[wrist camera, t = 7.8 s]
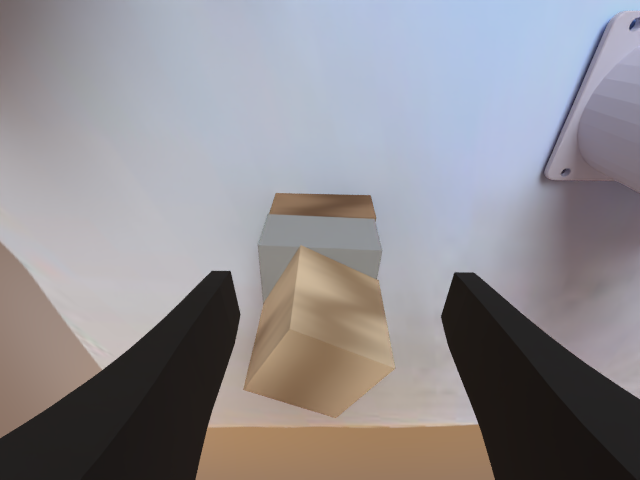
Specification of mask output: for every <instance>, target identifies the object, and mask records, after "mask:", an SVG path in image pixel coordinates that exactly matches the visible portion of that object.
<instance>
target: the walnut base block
mask: <svg viewBox="0 0 640 480" xmlns="http://www.w3.org/2000/svg"><path fill="white" fill-rule="evenodd" d="M269 214H275V215H297V216H320V217H343V218H366V219H375V222H376V215H375V211H374V207H373V203H372V199H371V195H334V194H291V193H276V194H275V197H274V200H273V204H272V207H271V210H270V213H269Z"/></svg>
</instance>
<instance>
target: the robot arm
mask: <svg viewBox="0 0 640 480" xmlns="http://www.w3.org/2000/svg"><path fill="white" fill-rule="evenodd" d="M634 19H635V20H636V22H635V25H634V27H633V28H632V29H631V30H630V29H629V26H630V24H631V22H632V21H633V20H634ZM566 168H567V169H566ZM564 169H566V171H565V172H564V173H562V174H561V172H562V171H563V170H564ZM544 175H545V176H546V177H547V178H548V179H550V180H581V181H617V182H619V183H621V184H623V185H625V186H627V187H629V188H630V189H632V190H634V191H636V192H638V193H640V11H622V12H619V13H617V14H616V15H614V16H613V17H612V18H611V20H610V21H609V23H608V25H607V27H606V29H605V32H604V34H603V36H602V39H601V41H600V43H599V45H598V48H597V50H596V52H595V55H594V57H593V59H592V62H591V64H590V66H589V69H588V71H587V73H586V76H585V78H584V80H583V83H582V85H581V87H580V90H579V92H578V94H577V97H576V99H575V101H574V103H573V106H572V108H571V110H570V113H569V115H568V117H567V120H566V122H565V124H564V127H563V129H562V131H561V134H560V136H559V138H558V141H557V143H556V145H555V148H554V150H553V152H552V154H551V157H550V159H549V161H548V164H547V166H546V168H545V171H544ZM441 318H442V323H443V327H444V331H445V335H446V339H447V343H448V346H449V349H450V352H451V354H452V357H453V359H454V362H455V365H456V367H457V370H458V372H459V375H460V377H461V380H462V382H463V385H464V387H465V390H466V392H467V395H468V397H469V400H470V403H471V405H472V408H473V410H474V413H475V415H476V418H477V421H478V424H479V426H480V429H481V432H482V435H483V439H484V442H485V446H486V449H487V453H488V456H489V460H490V463H491V467H492V470H493V474H494V477H495V480H640V399H638V398H637V397H635V396H634V395H632V394H631V393H629V392H627V391H626V390H624V389H623V388H621V387H620V386H618V385H617V384H615V383H614V382H612V381H611V380H609V379H608V378H606V377H605V376H603V375H602V374H601V373H599V372H598V371H596V370H595V369H593V368H592V367H590V366H589V365H587V364H586V363H585V362H583V361H582V360H580V359H579V358H578V357H576V356H575V355H574V354H572V353H571V352H570V351H568V350H567V349H566V348H564V347H563V346H562V345H560V344H559V343H558V342H556V341H555V340H554V339H553V338H551V337H550V336H549V335H547V334H546V333H545V332H544V331H542V330H541V329H540V328H539V327H537V326H536V325H535V324H534V323H533V322H531V321H530V320H529V319H528V318H526V317H525V316H524V315H523V314H522V313H521V312H519V311H518V310H517V309H516V308H515V307H513V306H512V305H511V304H510V303H509V302H508V301H507V300H505V299H504V298H503V297H502V296H501V295H500V294H498V293H497V292H496V291H495V290H494V289H493V288H492V287H490V286H489V285H488V284H487V283H486V282H485V281H483V280H482V279H481V278H480V277H479V276H477V275H476V274H475V273H457V272H454V276H453V279H452V282H451V286H450V289H449V292H448V295H447V299H446V302H445V305H444V309H443V312H442V315H441ZM239 319H240V311H239V306H238V302H237V297H236V293H235V289H234V284H233V280H232V275H231V271H211V272H210V273H209V274H208V275H207V276H206V277H205V278H204V279H203V280H202V281H201V282H200V283H199V284H198V285H197V286H196V287H195V288H194V289H193V290H192V291H191V292H190V293H189V294H188V295H187V296H186V297H185V298H184V299H183V300H182V301H181V302H180V303H179V304H178V305H177V306H176V307H175V308H174V309H173V310H172V311H171V312H170V313H169V314H168V315H167V316H166V317H165V318H164V319H163V320H162V321H160V322H159V323H158V324H157V325H156V326H155V327H154V328H153V329H152V330H150V331H149V332H148V333H147V334H146V335H145V336H144V337H143V338H141V339H140V340H139V341H138V342H137V343H136V344H135V345H133V346H132V347H131V348H130V349H129V350H127V351H126V352H125V353H124V354H122V355H121V356H120V357H119V358H118V359H116V360H115V361H114V362H112V363H111V364H110V365H108V366H107V367H106V368H105V369H103V370H102V371H101V372H99V373H98V374H97V375H95V376H94V377H93V378H91V379H90V380H88V381H87V382H86V383H84V384H83V385H81V386H80V387H78V388H77V389H75V390H74V391H73V392H71V393H70V394H68V395H67V396H65V397H64V398H62V399H61V400H60V401H58V402H57V403H55V404H54V405H52V406H51V407H49V408H48V409H46V410H45V411H43V412H42V413H40V414H39V415H37V416H35V417H34V418H32V419H31V420H29V421H28V422H26V423H24V424H23V425H21V426H20V427H18V428H16V429H15V430H13V431H12V432H10V433H9V434H7V435H5V436H3V437H2V438H0V480H195V478H196V474H197V470H198V465H199V460H200V456H201V452H202V447H203V443H204V439H205V435H206V431H207V427H208V423H209V420H210V416H211V413H212V410H213V407H214V404H215V401H216V398H217V395H218V392H219V389H220V386H221V383H222V380H223V377H224V374H225V371H226V368H227V365H228V362H229V359H230V356H231V353H232V350H233V347H234V344H235V339H236V335H237V330H238V325H239Z"/></svg>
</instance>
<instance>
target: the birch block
mask: <svg viewBox="0 0 640 480" xmlns="http://www.w3.org/2000/svg"><path fill="white" fill-rule="evenodd" d="M394 369H395V364H394V359H393V353H392V348H391V343H390V338H389V332H388V327H387V322H386V317H385V311H384V306H383V301H382V296H381V290H380V285H379V280H377V279H374V278H372V277H370V276H368V275H366V274H363V273H361V272H359V271H357V270H355V269H352V268H350V267H348V266H346V265H344V264H341V263H339V262H337V261H335V260H333V259H330V258H328V257H326V256H324V255H322V254H319V253H317V252H315V251H313V250H311V249H309V248H306V247H304V246H302V245H300V247H299V249H298V250H297V252H296V253H295V255H294V256H293V258H292V259H291V261H290V263H289V264H288V266H287V267H286V269H285V270H284V272H283V274H282V275H281V277H280V278H279V280H278V281H277V283H276V284H275V286H274V288H273V289H272V291H271V292H270V294H269V295H268V297H267V298H266V300H265V302H264V304H263V309H262V313H261V317H260V321H259V326H258V330H257V334H256V338H255V342H254V347H253V351H252V355H251V359H250V364H249V368H248V372H247V376H246V381H245V385H244V389H243V390H246V391H249V392H252V393H255V394H259V395H262V396H265V397H269V398H272V399H275V400H278V401H282V402H285V403H288V404H291V405H295V406H298V407H301V408H305V409H308V410H311V411H314V412H318V413H321V414H324V415H327V416H331V417H334V418H336V417H338V416H339V415H340V414H341V413H342V412H344V411H345V410H346V409H347V408H348V407H350V406H351V405H352V404H353V403H354V402H356V401H357V400H358V399H359V398H360V397H362V396H363V395H364V394H365V393H366V392H368V391H369V390H370V389H371V388H372V387H374V386H375V385H376V384H377V383H378V382H380V381H381V380H382V379H383V378H384V377H386V376H387V375H388V374H389V373H390V372H392V371H393V370H394Z"/></svg>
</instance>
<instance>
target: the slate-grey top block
mask: <svg viewBox="0 0 640 480" xmlns="http://www.w3.org/2000/svg"><path fill="white" fill-rule="evenodd" d="M300 245H302V246H304V247H306V248H309V249H311V250H313V251H315V252H317V253H319V254H322V255H324V256H326V257H328V258H330V259H333V260H335V261H337V262H339V263H341V264H344V265H346V266H348V267H350V268H352V269H355V270H357V271H359V272H361V273H363V274H366V275H368V276H370V277H372V278H374V279H377V276H378V271H379V265H380V260H381V255H382V247H381V243H380V239H379V235H378V231H377V227H376V222H375V219H366V218H343V217H320V216H297V215H275V214H268V215H267V218H266V221H265V225H264V228H263V231H262V234H261V237H260V240H259V243H258V252H259V263H260V274H261V285H262V296H263V304H264V302H265V300H266V298H267V297H268V295H269V294H270V292H271V291H272V289H273V288H274V286H275V284H276V283H277V281H278V280H279V278H280V277H281V275H282V274H283V272H284V270H285V269H286V267H287V266H288V264H289V263H290V261H291V259H292V258H293V256H294V255H295V253H296V252H297V250H298V249H299V247H300Z"/></svg>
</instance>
